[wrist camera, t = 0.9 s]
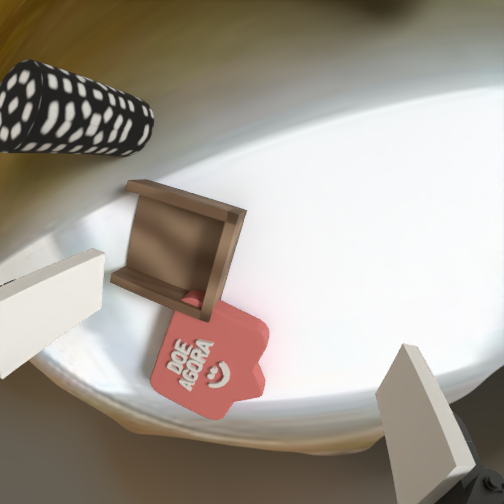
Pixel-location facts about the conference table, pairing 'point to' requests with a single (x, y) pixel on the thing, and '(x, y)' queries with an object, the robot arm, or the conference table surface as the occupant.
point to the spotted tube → (69, 114)
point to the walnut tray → (179, 247)
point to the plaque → (211, 359)
